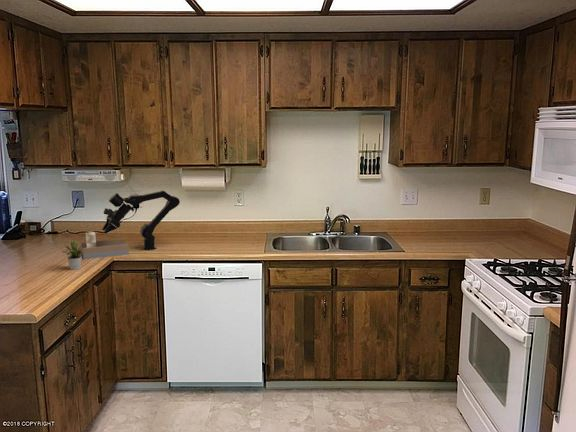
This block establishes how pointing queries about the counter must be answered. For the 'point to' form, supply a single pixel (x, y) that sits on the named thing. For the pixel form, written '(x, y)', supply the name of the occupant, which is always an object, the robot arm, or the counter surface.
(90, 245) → the block
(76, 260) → the house plant
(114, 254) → the channel
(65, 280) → the counter surface
